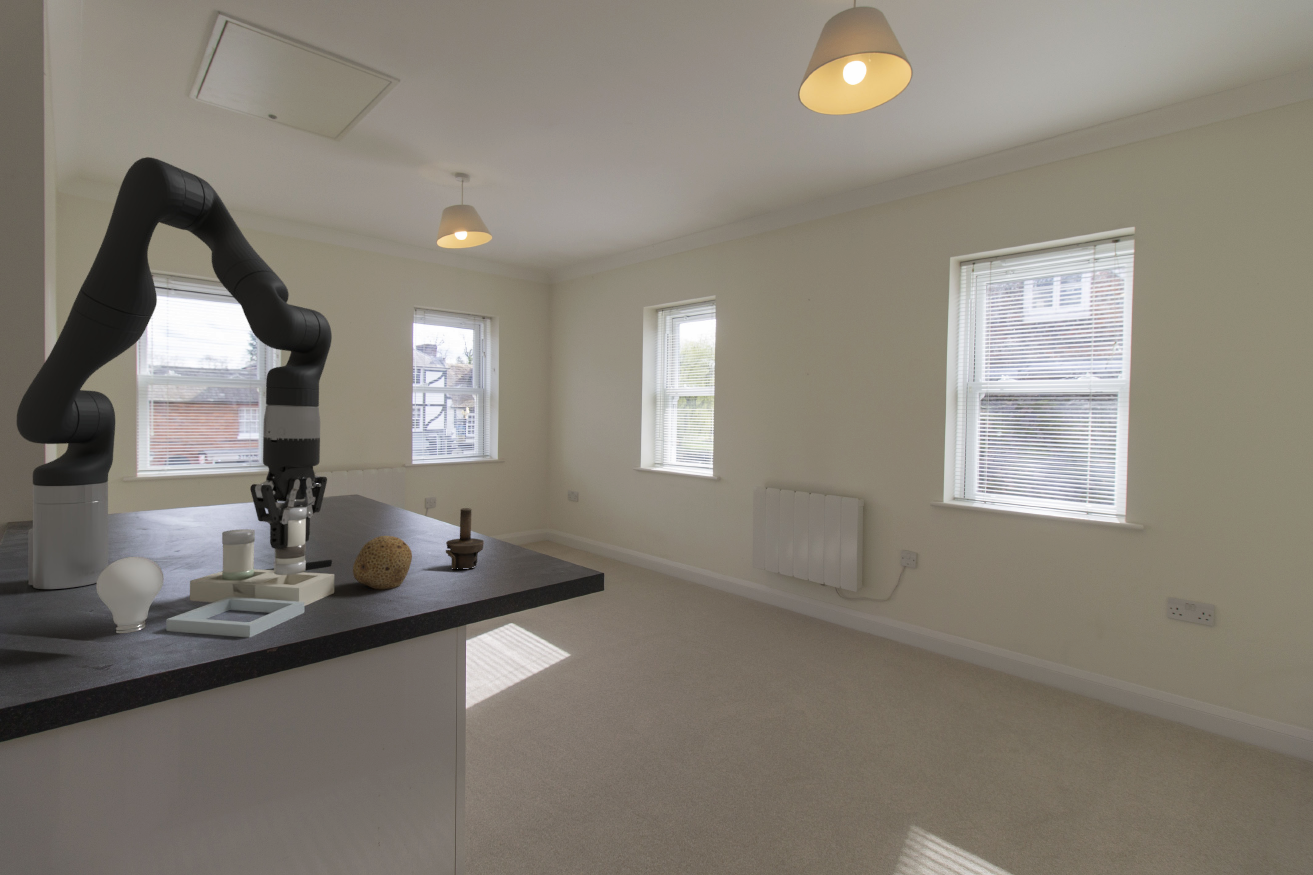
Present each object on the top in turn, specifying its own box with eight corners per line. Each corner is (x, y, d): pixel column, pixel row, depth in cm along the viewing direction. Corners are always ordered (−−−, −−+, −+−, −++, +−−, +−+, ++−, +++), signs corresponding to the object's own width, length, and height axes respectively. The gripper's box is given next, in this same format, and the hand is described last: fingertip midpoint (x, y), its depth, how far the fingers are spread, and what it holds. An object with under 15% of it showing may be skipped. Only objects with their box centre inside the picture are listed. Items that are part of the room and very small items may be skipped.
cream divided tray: (189, 609, 90) (189, 580, 90) (233, 594, 98) (233, 567, 98) (298, 617, 88) (299, 588, 88) (334, 601, 96) (334, 574, 96)
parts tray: (166, 641, 78) (166, 619, 78) (229, 616, 88) (229, 596, 88) (249, 648, 77) (250, 625, 77) (304, 622, 87) (304, 601, 86)
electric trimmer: (334, 577, 112) (335, 560, 112) (236, 591, 101) (236, 573, 101) (328, 573, 115) (328, 556, 115) (231, 586, 103) (231, 568, 103)
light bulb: (124, 630, 81) (124, 551, 81) (175, 630, 82) (176, 551, 81) (81, 649, 75) (81, 563, 74) (137, 649, 75) (138, 563, 75)
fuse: (214, 597, 92) (215, 533, 92) (236, 589, 96) (237, 528, 96) (239, 599, 91) (240, 534, 91) (260, 591, 96) (261, 529, 95)
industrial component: (447, 573, 115) (448, 512, 115) (441, 565, 121) (442, 507, 121) (496, 569, 120) (497, 510, 119) (487, 561, 126) (488, 505, 125)
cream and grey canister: (267, 573, 91) (268, 509, 90) (287, 567, 95) (288, 505, 95) (292, 575, 90) (293, 510, 90) (311, 569, 94) (312, 506, 94)
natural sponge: (352, 604, 95) (353, 543, 95) (352, 589, 103) (353, 532, 103) (413, 598, 99) (414, 539, 99) (408, 584, 107) (409, 529, 107)
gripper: (302, 433, 99) (300, 534, 100) (232, 435, 85) (230, 553, 86) (344, 435, 99) (341, 537, 99) (280, 437, 84) (278, 556, 85)
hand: (290, 544), depth 92 cm, fingers closed on cream and grey canister, 4 cm apart
